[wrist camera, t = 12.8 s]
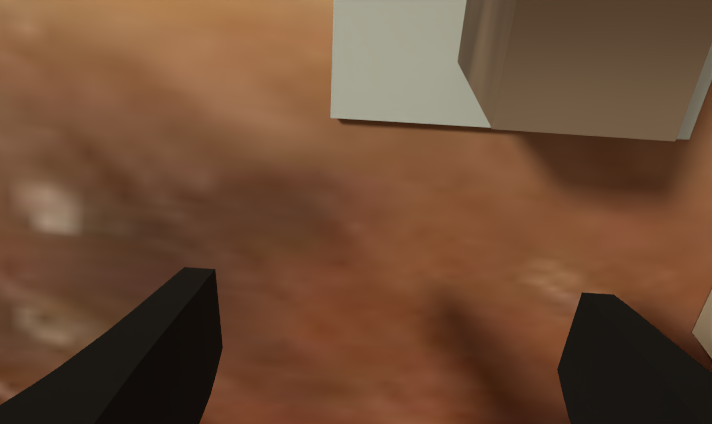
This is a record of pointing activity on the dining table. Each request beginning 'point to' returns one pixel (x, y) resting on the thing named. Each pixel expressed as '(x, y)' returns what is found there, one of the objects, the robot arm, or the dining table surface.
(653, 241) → the dining table surface
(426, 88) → the mat
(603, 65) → the block
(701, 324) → the wooden box
